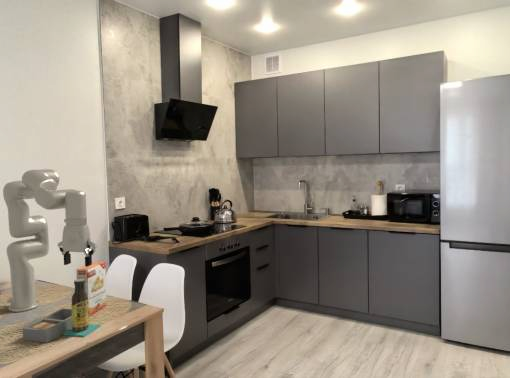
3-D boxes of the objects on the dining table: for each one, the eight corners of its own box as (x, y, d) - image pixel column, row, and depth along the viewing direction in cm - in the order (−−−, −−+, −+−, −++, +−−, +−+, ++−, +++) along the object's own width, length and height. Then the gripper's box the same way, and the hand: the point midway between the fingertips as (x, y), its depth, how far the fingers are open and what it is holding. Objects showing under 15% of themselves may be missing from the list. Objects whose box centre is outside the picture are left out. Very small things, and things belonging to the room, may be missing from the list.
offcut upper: (32, 332, 152) (31, 327, 151) (43, 327, 156) (43, 322, 156) (46, 335, 149) (45, 329, 149) (57, 329, 154) (57, 324, 154)
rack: (23, 339, 149) (22, 328, 149) (62, 318, 170) (62, 308, 169) (47, 342, 147) (46, 330, 146) (84, 320, 167) (84, 310, 167)
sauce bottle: (78, 333, 153) (75, 283, 151) (68, 330, 156) (66, 281, 155) (93, 327, 158) (90, 279, 157) (83, 324, 162) (81, 277, 160)
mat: (62, 334, 153) (62, 333, 153) (79, 324, 163) (79, 323, 163) (84, 337, 151) (84, 335, 151) (100, 326, 161) (100, 325, 161)
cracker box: (89, 316, 171) (87, 269, 170) (77, 315, 172) (75, 269, 171) (107, 305, 185) (105, 261, 183) (96, 304, 186) (94, 261, 185)
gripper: (50, 223, 153) (52, 266, 154) (89, 224, 148) (90, 269, 150) (64, 220, 160) (66, 261, 161) (101, 221, 156) (102, 263, 157)
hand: (77, 264), depth 155 cm, fingers open, 9 cm apart
